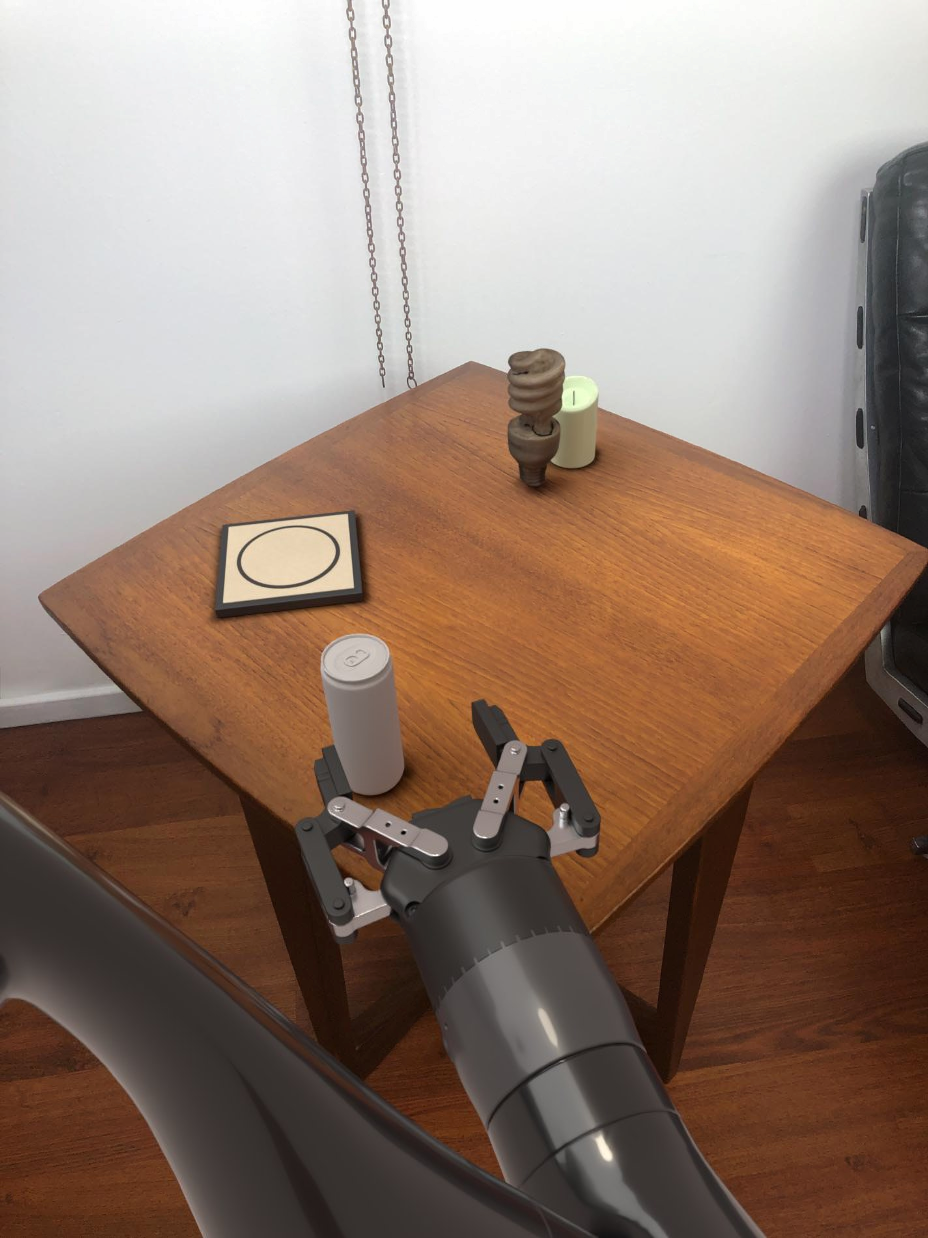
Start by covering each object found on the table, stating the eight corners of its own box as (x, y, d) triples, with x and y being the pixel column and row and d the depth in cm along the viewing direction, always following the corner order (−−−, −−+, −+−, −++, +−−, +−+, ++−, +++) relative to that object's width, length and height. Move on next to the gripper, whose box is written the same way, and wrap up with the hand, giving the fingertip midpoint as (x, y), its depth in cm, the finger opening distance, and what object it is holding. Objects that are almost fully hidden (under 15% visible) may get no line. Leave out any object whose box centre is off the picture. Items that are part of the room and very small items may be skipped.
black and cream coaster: (217, 618, 85) (214, 608, 84) (224, 532, 95) (221, 522, 94) (363, 601, 86) (362, 590, 85) (355, 518, 96) (354, 508, 95)
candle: (585, 472, 100) (589, 402, 95) (540, 463, 102) (542, 393, 97) (601, 449, 104) (605, 379, 98) (557, 440, 106) (559, 371, 100)
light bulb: (572, 484, 99) (578, 348, 89) (539, 508, 96) (542, 370, 86) (529, 466, 102) (530, 332, 92) (496, 489, 99) (493, 353, 89)
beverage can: (327, 776, 71) (303, 659, 63) (374, 739, 74) (357, 622, 66) (371, 811, 69) (352, 693, 61) (419, 771, 71) (407, 653, 63)
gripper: (678, 888, 40) (523, 646, 52) (351, 1012, 37) (263, 724, 48) (662, 979, 45) (523, 740, 57) (372, 1095, 42) (288, 816, 53)
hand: (404, 733), depth 53 cm, fingers open, 8 cm apart
